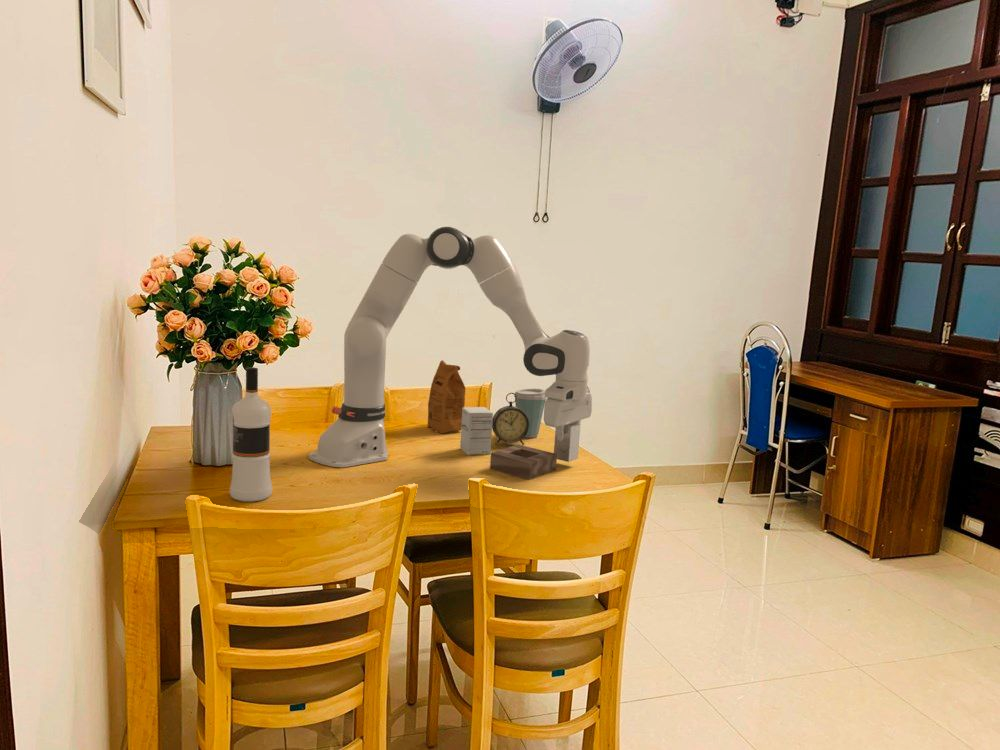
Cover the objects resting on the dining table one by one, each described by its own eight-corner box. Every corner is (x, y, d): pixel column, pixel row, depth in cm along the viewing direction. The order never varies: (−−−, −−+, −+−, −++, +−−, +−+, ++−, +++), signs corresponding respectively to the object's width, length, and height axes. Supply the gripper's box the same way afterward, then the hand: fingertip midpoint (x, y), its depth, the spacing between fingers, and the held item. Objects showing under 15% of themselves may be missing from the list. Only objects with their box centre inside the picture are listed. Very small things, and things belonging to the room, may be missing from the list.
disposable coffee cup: (515, 439, 239) (519, 393, 236) (507, 431, 249) (510, 386, 247) (548, 439, 242) (551, 393, 239) (538, 431, 252) (541, 386, 249)
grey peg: (568, 462, 210) (571, 427, 209) (553, 458, 213) (555, 423, 212) (577, 458, 214) (580, 424, 213) (562, 454, 217) (565, 420, 216)
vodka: (266, 503, 170) (268, 372, 165) (224, 502, 169) (224, 370, 164) (276, 490, 179) (277, 365, 174) (236, 488, 179) (236, 363, 173)
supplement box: (459, 448, 225) (461, 406, 223) (483, 447, 228) (485, 406, 225) (466, 455, 218) (469, 412, 216) (491, 454, 221) (493, 412, 219)
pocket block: (529, 479, 199) (530, 463, 198) (490, 468, 207) (490, 452, 206) (555, 469, 210) (557, 453, 209) (517, 459, 217) (518, 444, 216)
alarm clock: (492, 446, 229) (496, 394, 226) (489, 442, 234) (492, 390, 232) (527, 446, 232) (531, 394, 229) (523, 442, 237) (527, 391, 234)
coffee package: (450, 423, 254) (453, 359, 251) (466, 432, 244) (470, 365, 240) (422, 425, 249) (425, 359, 246) (438, 435, 239) (442, 366, 235)
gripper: (580, 383, 221) (576, 429, 223) (541, 391, 204) (537, 441, 207) (599, 386, 217) (595, 433, 219) (561, 395, 201) (557, 446, 203)
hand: (567, 437), depth 213 cm, fingers closed on grey peg, 5 cm apart
